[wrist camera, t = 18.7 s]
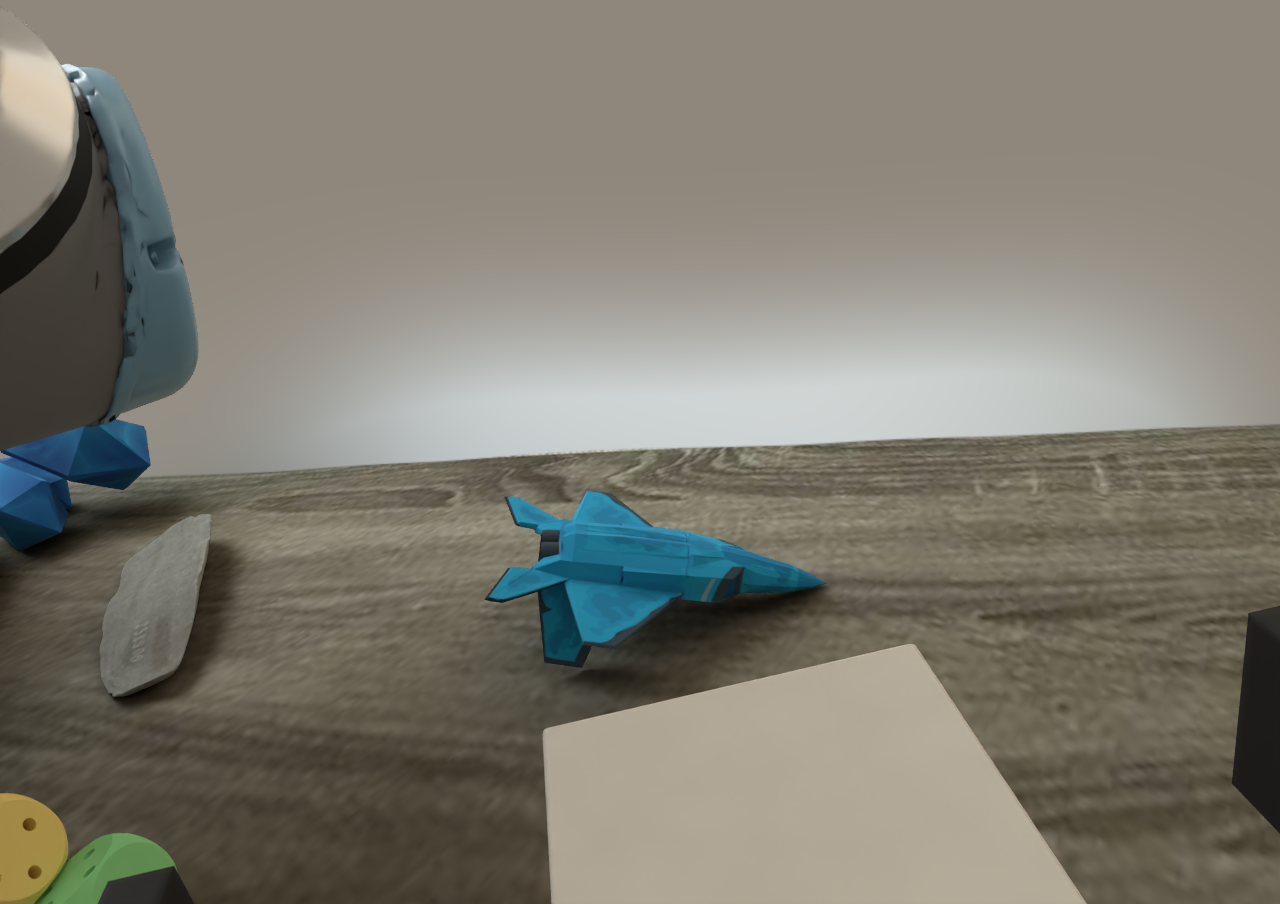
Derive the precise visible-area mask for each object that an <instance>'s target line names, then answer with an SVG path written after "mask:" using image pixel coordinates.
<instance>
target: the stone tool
mask: <svg viewBox="0 0 1280 904" xmlns="http://www.w3.org/2000/svg"><path fill="white" fill-rule="evenodd" d="M210 535H211V515H209V514H208V515H207V514H201V515H198V516H197V517H195V518H194V517H193V516H190V517H188V518H186V519H184V520H182V521H180V522H178V523H176V524H174V525H173V526H171V527H170V528H169V529H167V530H166V531H165V532H163V533H162V534H161V535H160V536H159V537H158V538H157V539H155V540H154V541H153V542H151V543H150V544H149V545H148V546H146V547H145V548H144V549H142V550H140V551H138V552H137V553H136V554H135V555H133V556H132V557H131V558H130V559H129V560H128V561H127V562H126V564H125V565H124V567H123V570H122V574H121V577H120V580H121V583H120V587H119V589H118V591H117V593H116V594H115V596H114V597H113V598H111V599H110V601H109V604H108V606H107V609H106V612H105V616H104V618H103V624H102V628H103V637H102V642H101V644H100V645H99V652H100V658H101V663H100V669H101V671H100V673H101V680H102V682H103V683H104V685H105V687H106V689H107V692H108V693H112V696H115V697H120V696H127V695H130V694H133V693H135V692H138V691H140V690H142V689H145V688H148V687H150V686H152V685H154V684H156V683H158V682H161V681H163V680H166V679H167V678H168V677H170V676H171V675H173V673H174V672H175V671H176V670H177V668H178V667H179V665H180V663H181V660H182V658H183V655H184V652H185V649H186V646H187V643H188V640H189V636H190V633H191V629H192V626H193V621H194V617H195V613H196V609H197V604H198V599H199V589H200V585H201V581H202V577H203V573H204V569H205V565H206V561H207V556H208V550H209V543H210Z"/></svg>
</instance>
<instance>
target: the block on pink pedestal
mask: <svg viewBox="0 0 1280 904" xmlns="http://www.w3.org/2000/svg"><path fill="white" fill-rule="evenodd" d="M542 736H543V755H544V774H545V793H546V812H547V831H548V850H549V869H550V888H551V904H1087V903H1086V902H1085V900H1084V899H1083V897H1082V896H1081V894H1080V893H1079V891H1078V890H1077V888H1076V887H1075V885H1074V884H1073V882H1072V881H1071V879H1070V878H1069V876H1068V875H1067V873H1066V872H1065V870H1064V869H1063V867H1062V866H1061V864H1060V863H1059V861H1058V860H1057V858H1056V857H1055V855H1054V854H1053V852H1052V851H1051V849H1050V848H1049V846H1048V845H1047V843H1046V842H1045V840H1044V839H1043V837H1042V836H1041V834H1040V833H1039V831H1038V830H1037V828H1036V827H1035V825H1034V824H1033V822H1032V820H1031V819H1030V817H1029V816H1028V814H1027V813H1026V811H1025V810H1024V808H1023V807H1022V805H1021V804H1020V802H1019V801H1018V799H1017V798H1016V796H1015V795H1014V793H1013V792H1012V790H1011V789H1010V787H1009V786H1008V784H1007V783H1006V781H1005V780H1004V778H1003V777H1002V775H1001V774H1000V772H999V771H998V769H997V768H996V766H995V765H994V763H993V762H992V760H991V759H990V757H989V756H988V754H987V753H986V751H985V750H984V748H983V747H982V745H981V744H980V742H979V741H978V739H977V737H976V736H975V734H974V733H973V731H972V730H971V728H970V727H969V725H968V724H967V722H966V721H965V719H964V718H963V716H962V715H961V713H960V712H959V710H958V709H957V707H956V706H955V704H954V703H953V701H952V700H951V698H950V697H949V695H948V694H947V692H946V691H945V689H944V688H943V686H942V685H941V683H940V682H939V680H938V679H937V677H936V676H935V674H934V673H933V671H932V670H931V668H930V667H929V665H928V664H927V662H926V661H925V659H924V658H923V656H922V655H921V653H920V651H919V650H918V648H917V647H916V645H914V644H906V645H902V646H898V647H894V648H889V649H885V650H881V651H876V652H872V653H868V654H864V655H859V656H855V657H851V658H846V659H842V660H838V661H833V662H829V663H825V664H821V665H816V666H812V667H808V668H803V669H799V670H795V671H790V672H786V673H782V674H778V675H773V676H769V677H765V678H760V679H756V680H752V681H747V682H743V683H739V684H735V685H730V686H726V687H722V688H717V689H713V690H709V691H704V692H700V693H696V694H692V695H687V696H683V697H679V698H674V699H670V700H666V701H661V702H657V703H653V704H649V705H644V706H640V707H636V708H631V709H627V710H623V711H619V712H614V713H610V714H606V715H601V716H597V717H593V718H588V719H584V720H580V721H576V722H571V723H567V724H563V725H558V726H554V727H550V728H546V729H545V730H544V731H543V735H542Z"/></svg>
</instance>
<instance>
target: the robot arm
mask: <svg viewBox="0 0 1280 904" xmlns="http://www.w3.org/2000/svg"><path fill="white" fill-rule="evenodd" d="M175 242H176V239H175V235H174V232H173V227H172V222H171V216H170V212H169V209H168V205H167V202H166V199H165V195H164V192H163V189H162V186H161V183H160V179H159V176H158V173H157V170H156V168H155V164H154V162H153V159H152V156H151V153H150V150H149V148H148V145H147V142H146V139H145V137H144V134H143V132H142V129H141V127H140V124H139V122H138V120H137V118H136V115H135V113H134V111H133V108H132V106H131V104H130V102H129V100H128V98H127V96H126V94H125V93H124V90H123V89H122V87H121V86H120V84H119V83H118V82H117V80H116V79H114V78H113V77H112V76H111V75H110V74H108V73H107V72H105V71H102V70H100V69H97V68H90V67H88V68H77V67H75V66H72V65H70V64H65V65H61V64H60V63H59V61H58V60H57V59H56V57H55V56H54V55H53V53H52V52H51V50H50V49H49V48H48V46H47V45H46V44H45V43H44V42H43V40H42V39H41V38H40V37H39V36H38V34H37V33H36V32H35V31H34V30H32V29H31V28H30V27H29V26H28V25H26V24H25V23H24V22H23V21H21V20H20V19H19V18H18V17H16V16H15V15H13V14H12V13H10V12H9V11H7V10H5V9H4V8H2V7H0V451H3V450H6V449H9V448H12V447H15V446H19V445H22V444H25V443H29V442H32V441H36V440H39V439H43V438H46V437H49V436H53V435H56V434H60V433H63V432H66V431H70V430H73V429H77V428H80V427H83V426H88V427H97V426H102V425H105V424H108V423H111V422H112V421H114V420H115V419H116V418H117V417H118V416H119V415H120V414H121V413H124V412H126V411H129V410H132V409H134V408H137V407H140V406H143V405H146V404H148V403H151V402H154V401H157V400H159V399H162V398H165V397H167V396H169V395H172V394H174V393H175V392H176V391H178V390H179V389H181V388H182V387H183V386H184V385H185V384H186V383H187V382H188V380H189V379H190V378H191V376H192V375H193V372H194V370H195V367H196V364H197V359H198V334H197V325H196V319H195V313H194V307H193V302H192V297H191V292H190V288H189V284H188V280H187V276H186V272H185V268H184V264H183V262H182V259H181V257H180V254H179V252H178V251H177V249H176V248H175ZM1232 784H1233V785H1234V786H1235V787H1236V788H1237V789H1238V790H1239V791H1240V792H1241V793H1242V794H1243V795H1244V797H1245V798H1246V799H1247V800H1248V801H1249V802H1250V803H1251V804H1252V805H1253V806H1254V807H1255V808H1256V809H1257V810H1258V811H1259V812H1260V813H1261V814H1262V815H1263V816H1264V817H1265V818H1266V819H1267V821H1268V822H1269V823H1270V824H1271V825H1272V826H1273V827H1274V828H1275V829H1276V830H1277V831H1278V832H1279V833H1280V606H1277V607H1273V608H1269V609H1264V610H1260V611H1256V612H1252V613H1249V614H1248V625H1247V635H1246V645H1245V655H1244V665H1243V676H1242V686H1241V696H1240V706H1239V716H1238V726H1237V737H1236V747H1235V757H1234V767H1233V777H1232ZM98 904H194V902H193V901H192V899H191V897H190V895H189V893H188V891H187V889H186V887H185V885H184V884H183V882H182V880H181V878H180V876H179V874H178V872H177V870H176V869H175V867H174V866H171V867H167V868H162V869H158V870H154V871H150V872H145V873H141V874H137V875H133V876H128V877H124V878H120V879H116V880H111V881H108V882H107V885H106V887H105V889H104V891H103V893H102V895H101V898H100V900H99V902H98Z"/></svg>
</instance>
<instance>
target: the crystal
mask: <svg viewBox="0 0 1280 904" xmlns="http://www.w3.org/2000/svg"><path fill="white" fill-rule="evenodd" d="M1 453H3V454H6V455H8V456H11V457H10V458H4V459H0V536H1V537H2V538H4V539H5V540H6V541H7V542H9V543H10V544H11V545H13V546H14V547H15V548H16V549H18V550H25V549H27V548H29V547H31V546H33V545H35V544H38V543H40V542H42V541H44V540H46V539H48V538H50V537H52V536H55V535H57V534H59V533H61V532H62V529H63V527H64V525H65V522H66V520H67V517H68V512H67V511H66V509H68V508H72V504H71V499H70V494H69V488H68V483H67V480H69V481H71V482H77V483H83V484H90V485H96V486H102V487H108V488H114V489H120V490H124V489H125V488H127V487H128V486H129V485H130V484H131V483H132V482H133V481H134V480H136V479H137V478H138V477H139V476H140V475H141V474H142V473H143V472H144V471H145V470H146V469H147V468H148V467H149V466H150V458H149V450H148V443H147V436H146V431H145V428H144V426H140V425H136V424H132V423H128V422H124V421H120V420H116V419H115V420H114V421H112V422H111V423H108V424H105V425H102V426H97V427H88V426H83V427H80V428H77V429H73V430H70V431H66V432H63V433H60V434H56V435H53V436H49V437H46V438H43V439H39V440H36V441H32V442H29V443H25V444H22V445H19V446H15V447H12V448H9V449H6V450H3V451H1Z"/></svg>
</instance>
